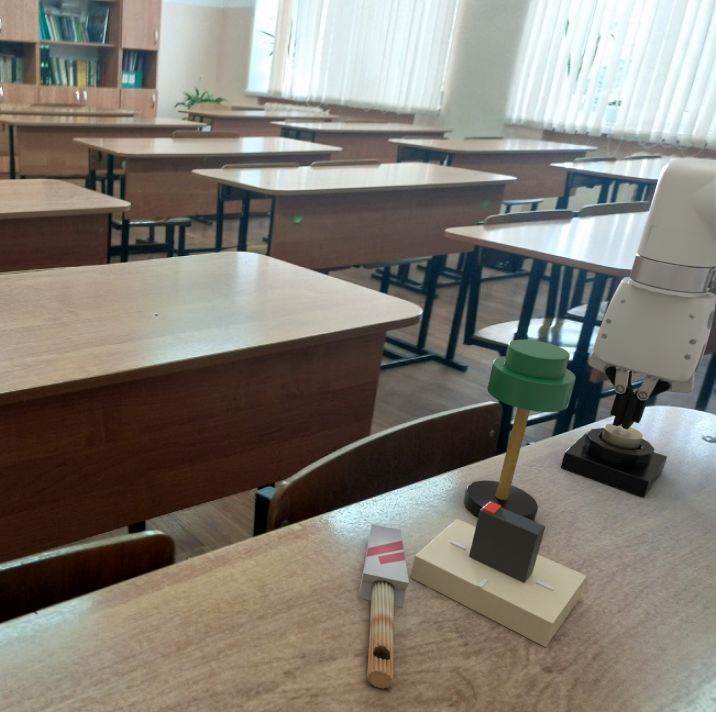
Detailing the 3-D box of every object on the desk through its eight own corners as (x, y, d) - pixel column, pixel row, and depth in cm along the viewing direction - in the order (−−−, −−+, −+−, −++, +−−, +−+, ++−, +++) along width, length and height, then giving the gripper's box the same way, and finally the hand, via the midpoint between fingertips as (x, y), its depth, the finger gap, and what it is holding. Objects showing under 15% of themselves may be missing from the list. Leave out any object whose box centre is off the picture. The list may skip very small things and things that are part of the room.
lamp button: (642, 444, 88) (646, 431, 88) (633, 455, 85) (637, 442, 85) (605, 433, 91) (609, 420, 90) (596, 442, 88) (600, 429, 87)
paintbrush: (409, 518, 71) (408, 673, 54) (404, 541, 72) (401, 700, 55) (368, 510, 72) (354, 659, 55) (364, 533, 73) (349, 686, 56)
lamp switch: (662, 472, 90) (671, 443, 88) (643, 498, 83) (653, 467, 82) (583, 445, 95) (590, 417, 94) (560, 467, 89) (568, 438, 88)
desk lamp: (547, 511, 80) (591, 351, 73) (521, 538, 75) (566, 369, 68) (478, 483, 85) (514, 331, 78) (449, 507, 80) (485, 346, 73)
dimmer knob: (532, 573, 65) (546, 523, 63) (524, 583, 64) (538, 532, 62) (477, 547, 68) (489, 499, 66) (468, 556, 67) (480, 507, 65)
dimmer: (580, 598, 66) (587, 573, 65) (545, 648, 60) (552, 622, 59) (452, 539, 74) (457, 516, 73) (409, 578, 68) (414, 554, 67)
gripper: (758, 285, 78) (703, 437, 85) (606, 257, 88) (566, 395, 95) (747, 297, 73) (689, 458, 80) (587, 265, 83) (547, 411, 90)
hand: (623, 423), depth 87 cm, fingers closed
